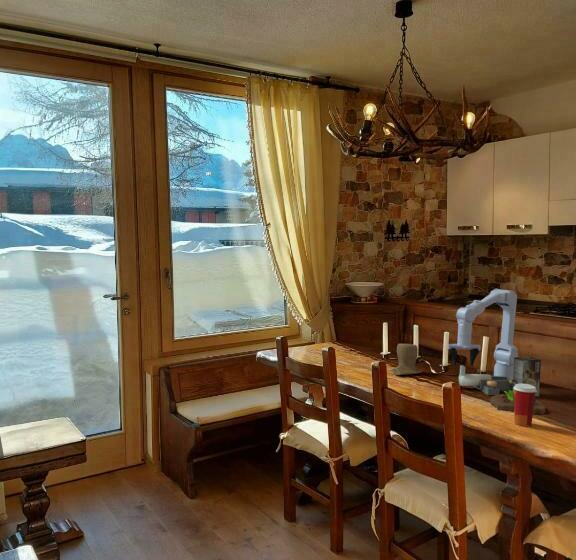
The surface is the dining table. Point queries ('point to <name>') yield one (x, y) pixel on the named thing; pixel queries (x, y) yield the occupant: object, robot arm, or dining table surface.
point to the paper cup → (524, 404)
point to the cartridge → (471, 378)
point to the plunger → (492, 384)
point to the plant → (512, 402)
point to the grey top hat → (406, 360)
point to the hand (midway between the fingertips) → (462, 365)
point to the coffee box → (527, 372)
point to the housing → (501, 386)
